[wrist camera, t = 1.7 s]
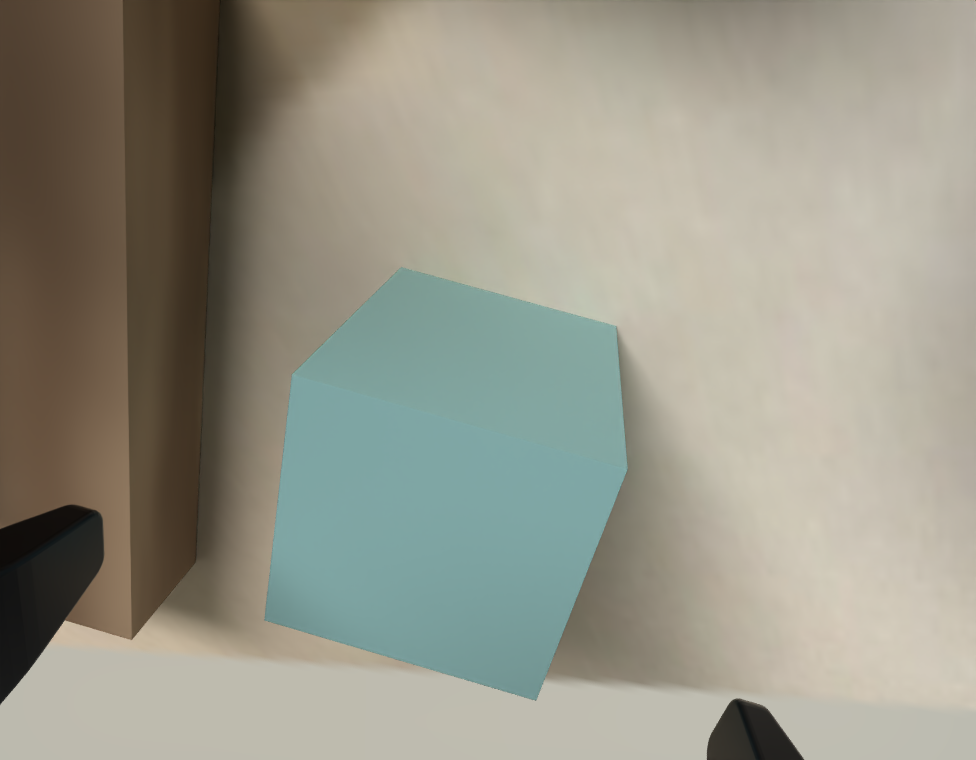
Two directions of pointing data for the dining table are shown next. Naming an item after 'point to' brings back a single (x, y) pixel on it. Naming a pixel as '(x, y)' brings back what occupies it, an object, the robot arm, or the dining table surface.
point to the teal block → (448, 480)
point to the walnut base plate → (107, 280)
